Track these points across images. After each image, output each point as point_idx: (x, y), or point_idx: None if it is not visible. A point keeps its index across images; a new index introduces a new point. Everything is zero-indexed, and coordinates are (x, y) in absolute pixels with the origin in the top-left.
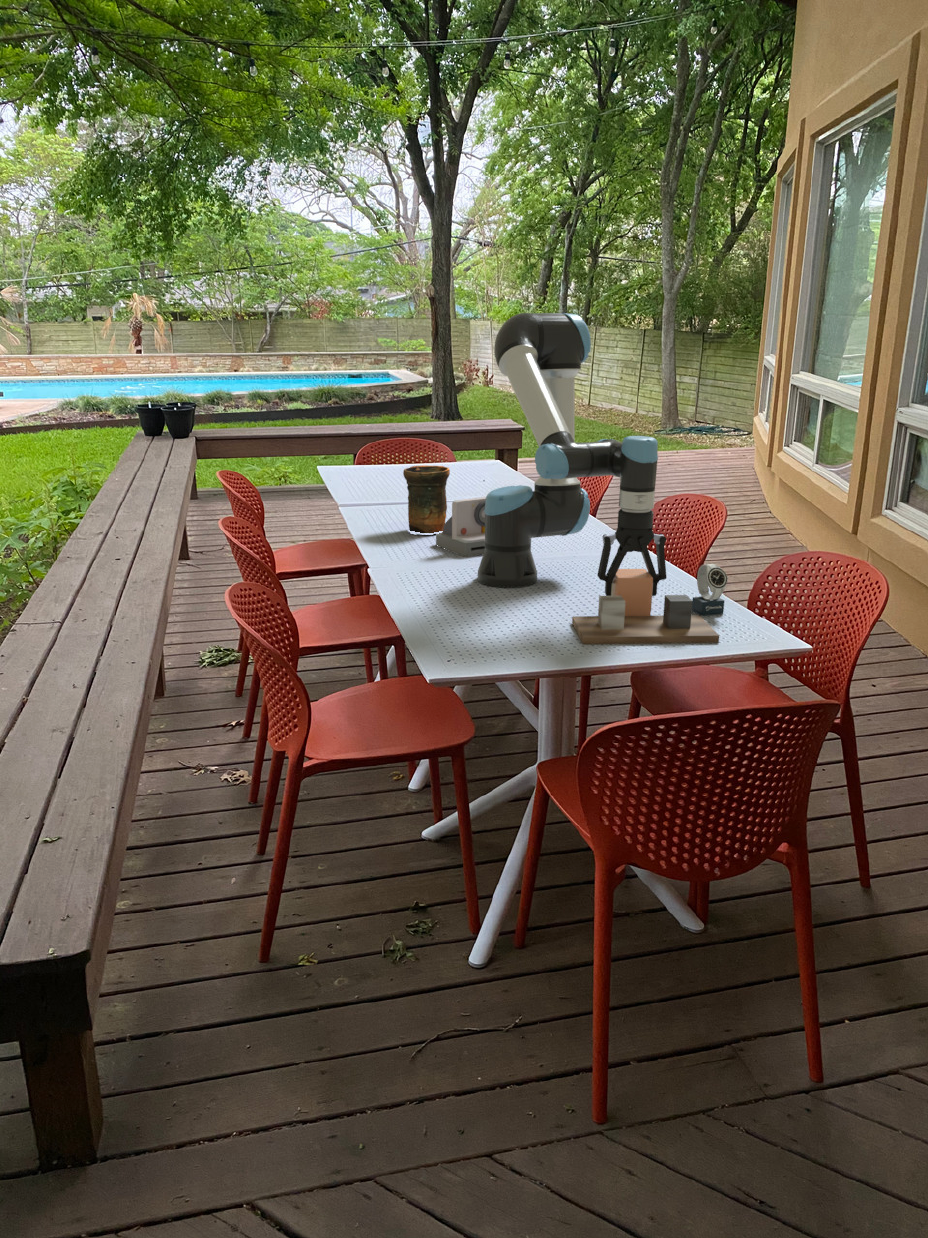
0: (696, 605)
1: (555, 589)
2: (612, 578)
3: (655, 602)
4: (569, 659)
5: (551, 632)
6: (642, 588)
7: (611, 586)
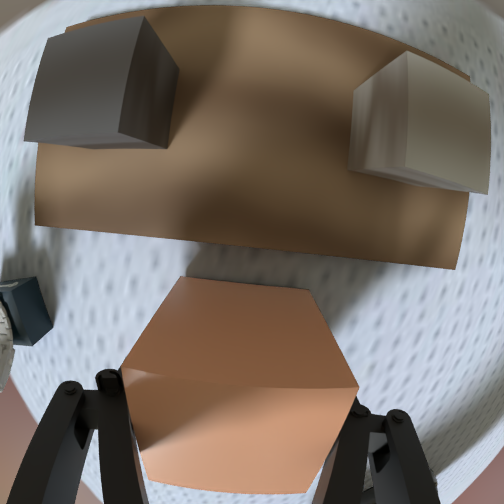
0: (33, 315)
1: None
2: (349, 420)
3: None
4: (476, 22)
5: (497, 195)
6: (198, 339)
7: None
